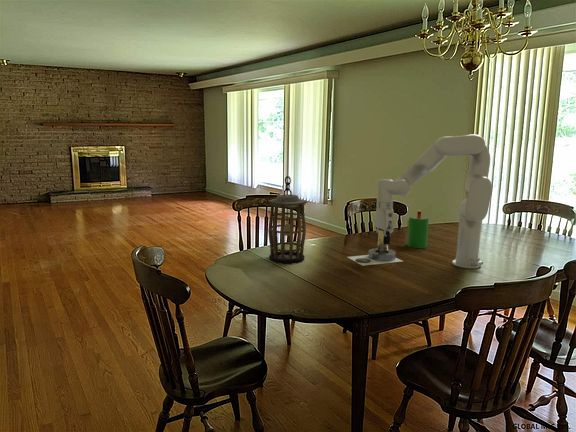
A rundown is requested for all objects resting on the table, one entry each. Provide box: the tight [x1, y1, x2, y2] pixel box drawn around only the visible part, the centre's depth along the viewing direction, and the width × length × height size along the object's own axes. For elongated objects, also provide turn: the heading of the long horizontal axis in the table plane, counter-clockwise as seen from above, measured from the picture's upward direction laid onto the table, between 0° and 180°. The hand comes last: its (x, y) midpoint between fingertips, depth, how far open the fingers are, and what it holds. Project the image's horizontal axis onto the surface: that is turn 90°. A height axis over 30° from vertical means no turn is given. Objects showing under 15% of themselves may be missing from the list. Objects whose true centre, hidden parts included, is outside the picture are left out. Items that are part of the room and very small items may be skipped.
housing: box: [367, 247, 397, 261], centre depth 219 cm, size 13×13×3 cm
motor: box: [406, 209, 430, 249], centre depth 245 cm, size 10×9×20 cm
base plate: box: [347, 254, 403, 267], centre depth 217 cm, size 15×22×1 cm
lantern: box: [266, 175, 308, 265], centre depth 215 cm, size 19×19×40 cm
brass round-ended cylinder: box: [377, 229, 389, 251], centre depth 218 cm, size 5×5×10 cm
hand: (383, 242), depth 218 cm, fingers closed on brass round-ended cylinder, 5 cm apart
